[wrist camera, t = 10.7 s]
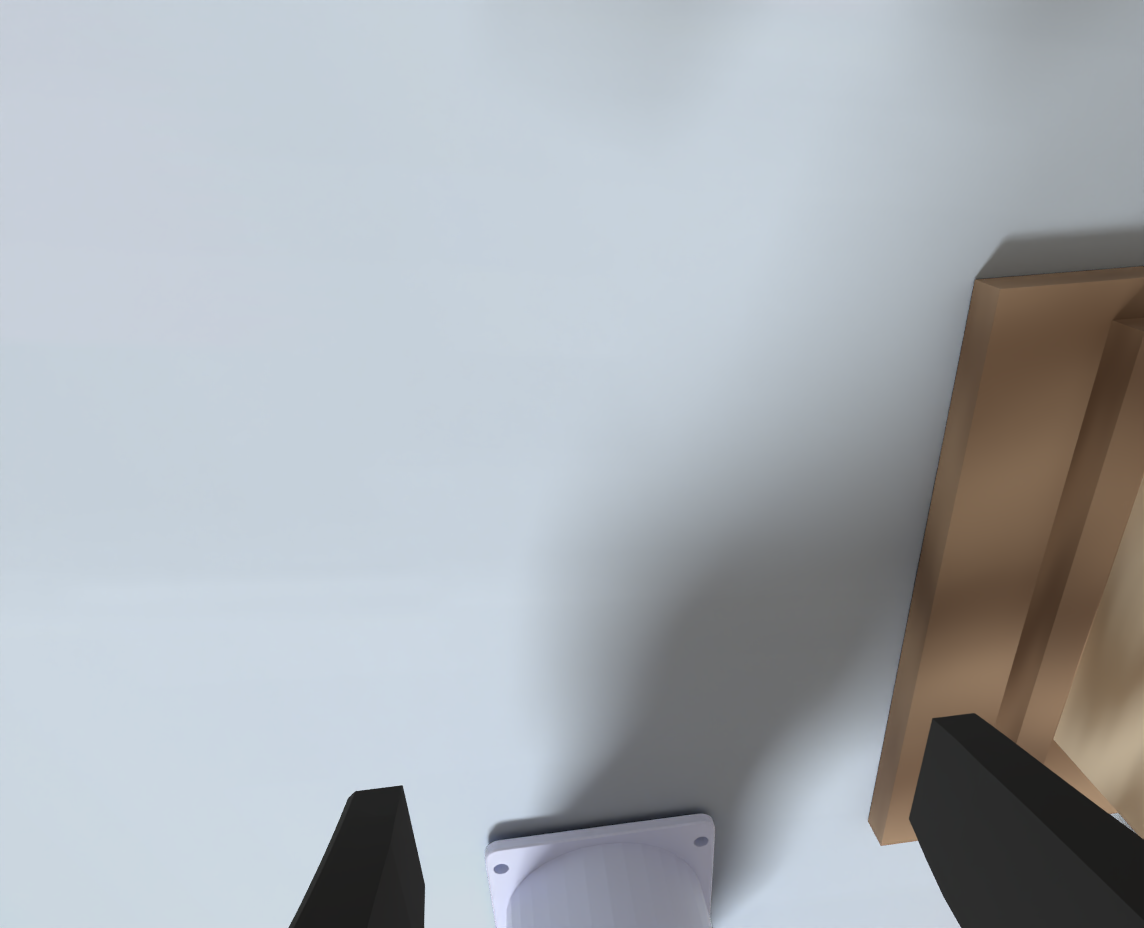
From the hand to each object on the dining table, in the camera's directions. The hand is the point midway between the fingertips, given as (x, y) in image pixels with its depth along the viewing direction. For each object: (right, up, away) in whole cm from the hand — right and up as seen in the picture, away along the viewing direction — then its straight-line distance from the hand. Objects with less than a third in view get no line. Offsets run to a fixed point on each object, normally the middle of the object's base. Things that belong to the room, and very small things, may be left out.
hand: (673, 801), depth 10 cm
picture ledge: (+16, +1, +13) cm, 21 cm away
